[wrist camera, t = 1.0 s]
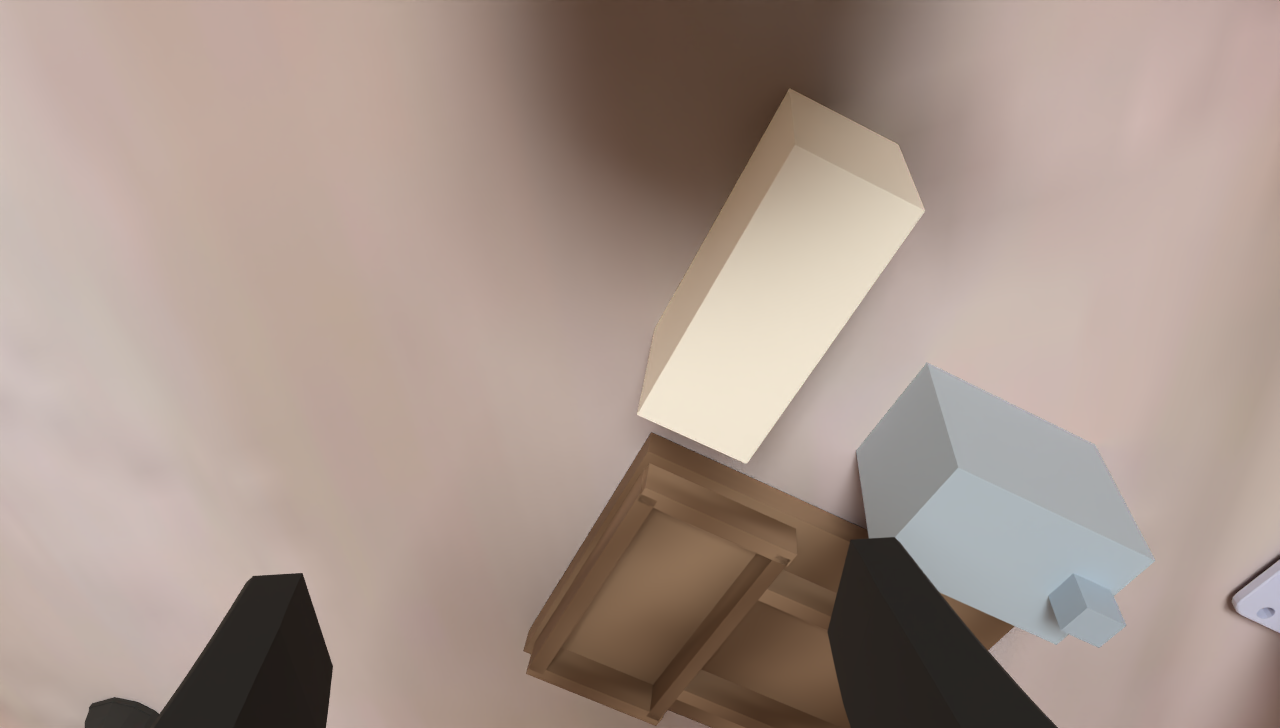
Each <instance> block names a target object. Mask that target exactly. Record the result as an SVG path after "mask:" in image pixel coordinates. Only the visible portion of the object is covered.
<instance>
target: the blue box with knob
mask: <svg viewBox="0 0 1280 728" xmlns="http://www.w3.org/2000/svg"><path fill="white" fill-rule="evenodd" d="M856 454H857V461H858V468H859V475H860V482H861V488H862V495H863V502H864V509H865V516H866V522H867V529H868V536H869V538H885V537H895V538H896V539H897V540H898V541H899V542H900V543H901V544H902V545H903V547H904V548H905V549H906V551H907V552H908V553H909V554H910V556H911V557H912V558H913V559H914V561H915V562H916V563H917V565H918V566H919V567H920V568H921V570H922V571H923V572H924V574H925V575H926V576H927V577H928V579H929V580H930V581H931V582H932V584H933V585H934V586H935V587H936V589H937V590H938V591H939V592H940V593H942V594H944V595H946V596H949V597H951V598H953V599H955V600H958V601H960V602H962V603H964V604H966V605H969V606H971V607H973V608H975V609H978V610H980V611H982V612H984V613H987V614H989V615H991V616H993V617H996V618H998V619H1000V620H1002V621H1004V622H1007V623H1009V624H1011V625H1013V626H1016V627H1018V628H1020V629H1022V630H1025V631H1027V632H1029V633H1031V634H1034V635H1036V636H1038V637H1040V638H1042V639H1045V640H1047V641H1049V642H1051V643H1054V644H1056V645H1057V644H1058V643H1059V642H1060V641H1062V640H1063V639H1064V638H1065V637H1066V636H1067V635H1072V636H1074V637H1076V638H1078V639H1080V640H1083V641H1085V642H1087V643H1089V644H1092V645H1094V646H1096V647H1098V648H1100V647H1101V646H1102V645H1103V644H1104V643H1106V642H1107V641H1108V640H1109V639H1111V638H1112V637H1113V636H1114V635H1115V634H1117V633H1118V632H1119V631H1120V630H1122V629H1123V628H1124V627H1125V626H1126V623H1125V621H1124V619H1123V617H1122V614H1121V612H1120V610H1119V608H1118V605H1117V603H1116V601H1115V599H1114V595H1116V594H1117V593H1118V592H1119V591H1120V590H1121V589H1123V588H1124V587H1125V586H1126V585H1127V584H1128V583H1130V582H1131V581H1132V580H1133V579H1134V578H1136V577H1137V576H1138V575H1139V574H1140V573H1141V572H1143V571H1144V570H1145V569H1146V568H1147V567H1148V566H1150V565H1151V564H1152V563H1153V562H1154V561H1155V559H1154V557H1153V555H1152V553H1151V551H1150V549H1149V547H1148V545H1147V544H1146V542H1145V540H1144V538H1143V536H1142V534H1141V532H1140V530H1139V528H1138V526H1137V524H1136V522H1135V521H1134V519H1133V517H1132V515H1131V513H1130V511H1129V509H1128V507H1127V505H1126V503H1125V501H1124V499H1123V497H1122V496H1121V494H1120V492H1119V490H1118V488H1117V486H1116V484H1115V482H1114V480H1113V478H1112V476H1111V474H1110V473H1109V471H1108V469H1107V467H1106V465H1105V463H1104V461H1103V459H1102V457H1101V455H1100V453H1099V451H1098V449H1097V448H1096V446H1095V444H1093V443H1091V442H1088V441H1086V440H1084V439H1082V438H1080V437H1078V436H1076V435H1074V434H1072V433H1070V432H1068V431H1066V430H1064V429H1062V428H1060V427H1058V426H1056V425H1054V424H1052V423H1050V422H1048V421H1046V420H1044V419H1042V418H1040V417H1037V416H1035V415H1033V414H1031V413H1029V412H1027V411H1025V410H1023V409H1021V408H1019V407H1017V406H1015V405H1013V404H1011V403H1009V402H1007V401H1005V400H1003V399H1001V398H999V397H997V396H995V395H993V394H991V393H989V392H986V391H984V390H982V389H980V388H978V387H976V386H974V385H972V384H970V383H968V382H966V381H964V380H962V379H960V378H958V377H956V376H954V375H952V374H950V373H948V372H946V371H944V370H942V369H940V368H937V367H935V366H933V365H931V364H929V363H926V364H925V366H924V367H923V368H922V369H921V371H920V372H919V373H918V374H917V376H916V377H915V378H914V379H913V381H912V382H911V383H910V384H909V386H908V387H907V388H906V389H905V391H904V392H903V393H902V394H901V396H900V397H899V398H898V399H897V400H896V402H895V403H894V404H893V405H892V407H891V408H890V409H889V410H888V412H887V413H886V414H885V415H884V417H883V418H882V419H881V420H880V422H879V423H878V424H877V425H876V427H875V428H874V429H873V430H872V432H871V433H870V434H869V435H868V437H867V438H866V439H865V440H864V442H863V443H862V444H861V445H860V447H859V448H858V449H857V450H856Z"/></svg>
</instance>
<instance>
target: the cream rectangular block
mask: <svg viewBox="0 0 1280 728" xmlns="http://www.w3.org/2000/svg"><path fill="white" fill-rule="evenodd" d="M924 212H925V209H924V207H923V204H922V202H921V199H920V197H919V194H918V192H917V189H916V187H915V184H914V182H913V179H912V177H911V175H910V172H909V170H908V167H907V165H906V162H905V160H904V157H903V155H902V152H901V150H900V147H899V145H898V144H897V143H895V142H893V141H891V140H889V139H887V138H885V137H883V136H881V135H879V134H877V133H875V132H873V131H871V130H870V129H868V128H866V127H864V126H862V125H860V124H858V123H856V122H854V121H852V120H850V119H848V118H846V117H844V116H842V115H841V114H839V113H837V112H835V111H833V110H831V109H829V108H827V107H825V106H823V105H821V104H819V103H817V102H815V101H814V100H812V99H810V98H808V97H806V96H804V95H802V94H800V93H798V92H796V91H794V90H792V89H790V88H789V90H788V92H787V93H786V95H785V97H784V99H783V101H782V102H781V104H780V106H779V108H778V109H777V111H776V113H775V115H774V117H773V118H772V120H771V122H770V124H769V126H768V127H767V129H766V131H765V133H764V134H763V136H762V138H761V140H760V142H759V143H758V145H757V147H756V149H755V151H754V152H753V154H752V156H751V158H750V159H749V161H748V163H747V165H746V167H745V168H744V170H743V172H742V174H741V175H740V177H739V179H738V181H737V183H736V184H735V186H734V188H733V190H732V192H731V193H730V195H729V197H728V199H727V200H726V202H725V204H724V206H723V208H722V209H721V211H720V213H719V215H718V217H717V218H716V220H715V222H714V224H713V225H712V227H711V229H710V231H709V233H708V234H707V236H706V238H705V240H704V242H703V243H702V245H701V247H700V249H699V250H698V252H697V254H696V256H695V258H694V259H693V261H692V263H691V265H690V267H689V268H688V270H687V272H686V274H685V275H684V277H683V279H682V281H681V283H680V284H679V286H678V288H677V290H676V292H675V293H674V295H673V297H672V299H671V300H670V302H669V304H668V306H667V308H666V309H665V311H664V313H663V315H662V317H661V318H660V320H659V322H658V324H657V325H656V327H655V329H654V334H653V339H652V344H651V349H650V354H649V358H648V363H647V368H646V373H645V378H644V383H643V388H642V393H641V397H640V402H639V407H638V412H637V415H639V416H641V417H643V418H645V419H647V420H650V421H652V422H654V423H656V424H659V425H661V426H663V427H665V428H667V429H670V430H672V431H674V432H676V433H679V434H681V435H683V436H685V437H688V438H690V439H692V440H694V441H696V442H699V443H701V444H703V445H705V446H708V447H710V448H712V449H714V450H716V451H719V452H721V453H723V454H725V455H728V456H730V457H732V458H734V459H736V460H739V461H741V462H743V463H745V464H747V463H748V461H749V460H750V459H751V457H752V456H753V454H754V453H755V451H756V450H757V449H758V447H759V446H760V444H761V443H762V441H763V440H764V439H765V437H766V436H767V434H768V433H769V432H770V430H771V429H772V427H773V426H774V424H775V423H776V422H777V420H778V419H779V417H780V416H781V415H782V413H783V412H784V410H785V409H786V407H787V406H788V405H789V403H790V402H791V400H792V399H793V398H794V396H795V395H796V393H797V392H798V390H799V389H800V388H801V386H802V385H803V383H804V382H805V381H806V379H807V378H808V376H809V375H810V373H811V372H812V371H813V369H814V368H815V366H816V365H817V363H818V362H819V361H820V359H821V358H822V356H823V355H824V354H825V352H826V351H827V349H828V348H829V346H830V345H831V344H832V342H833V341H834V339H835V338H836V337H837V335H838V334H839V332H840V331H841V329H842V328H843V327H844V325H845V324H846V322H847V321H848V320H849V318H850V317H851V315H852V314H853V312H854V311H855V310H856V308H857V307H858V305H859V304H860V302H861V301H862V300H863V298H864V297H865V295H866V294H867V293H868V291H869V290H870V288H871V287H872V285H873V284H874V283H875V281H876V280H877V278H878V277H879V276H880V274H881V273H882V271H883V270H884V268H885V267H886V266H887V264H888V263H889V261H890V260H891V259H892V257H893V256H894V254H895V253H896V251H897V250H898V249H899V247H900V246H901V244H902V243H903V241H904V240H905V239H906V237H907V236H908V234H909V233H910V232H911V230H912V229H913V227H914V226H915V224H916V223H917V222H918V220H919V219H920V217H921V216H922V215H923V213H924Z"/></svg>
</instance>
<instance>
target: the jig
mask: <svg viewBox="0 0 1280 728" xmlns="http://www.w3.org/2000/svg"><path fill="white" fill-rule="evenodd" d="M853 539H869V536H868V530H866V529H863V528H861V527H859V526H857V525H855V524H852V523H850V522H848V521H846V520H844V519H841V518H839V517H837V516H835V515H833V514H830V513H828V512H826V511H824V510H822V509H819V508H817V507H815V506H813V505H811V504H808V503H806V502H804V501H802V500H799V499H797V498H795V497H793V496H791V495H788V494H786V493H784V492H782V491H780V490H777V489H775V488H773V487H771V486H769V485H766V484H764V483H762V482H760V481H758V480H755V479H753V478H751V477H749V476H747V475H744V474H742V473H740V472H738V471H736V470H733V469H731V468H729V467H727V466H725V465H722V464H720V463H718V462H716V461H713V460H711V459H709V458H707V457H705V456H702V455H700V454H698V453H696V452H694V451H691V450H689V449H687V448H685V447H683V446H680V445H678V444H676V443H674V442H672V441H669V440H667V439H665V438H663V437H661V436H658V435H656V434H654V433H652V432H651V434H650V435H649V437H648V438H647V440H646V442H645V443H644V445H643V447H642V448H641V450H640V451H639V453H638V455H637V456H636V458H635V460H634V461H633V463H632V464H631V466H630V468H629V469H628V471H627V473H626V474H625V476H624V477H623V479H622V481H621V482H620V484H619V485H618V487H617V489H616V490H615V492H614V494H613V495H612V497H611V498H610V500H609V502H608V503H607V505H606V507H605V508H604V510H603V511H602V513H601V515H600V516H599V518H598V520H597V521H596V523H595V524H594V526H593V528H592V529H591V531H590V532H589V534H588V536H587V537H586V539H585V541H584V542H583V544H582V545H581V547H580V549H579V550H578V552H577V554H576V555H575V557H574V558H573V560H572V562H571V563H570V565H569V567H568V568H567V570H566V571H565V573H564V575H563V576H562V578H561V580H560V581H559V583H558V584H557V586H556V588H555V589H554V591H553V592H552V594H551V596H550V597H549V599H548V601H547V602H546V604H545V605H544V607H543V609H542V610H541V612H540V614H539V615H538V617H537V618H536V620H535V622H534V623H533V625H532V627H531V628H530V630H529V633H528V636H527V640H526V643H525V647H524V650H523V651H525V652H527V653H530V654H531V657H530V661H529V665H528V668H527V672H526V674H528V675H531V676H533V677H536V678H538V679H541V680H543V681H546V682H548V683H551V684H553V685H556V686H558V687H561V688H563V689H566V690H568V691H571V692H573V693H575V694H578V695H580V696H583V697H585V698H588V699H590V700H593V701H595V702H598V703H600V704H603V705H605V706H608V707H610V708H613V709H615V710H618V711H620V712H623V713H625V714H628V715H630V716H633V717H635V718H638V719H640V720H643V721H645V722H648V723H650V724H653V725H655V726H656V725H657V724H658V723H659V722H660V720H661V719H662V718H663V715H664V714H665V712H666V711H667V710H670V711H672V712H675V713H677V714H680V715H682V716H685V717H687V718H690V719H692V720H695V721H697V722H699V723H702V724H704V725H707V726H709V727H712V728H851V727H850V724H849V721H848V717H847V714H846V711H845V708H844V705H843V701H842V697H841V692H840V688H839V684H838V679H837V675H836V671H835V666H834V661H833V656H832V652H831V647H830V642H829V637H828V632H827V631H828V627H829V623H830V619H831V615H832V611H833V607H834V603H835V599H836V595H837V591H838V587H839V583H840V579H841V575H842V571H843V567H844V563H845V560H846V556H847V552H848V548H849V544H850V540H853ZM940 594H941V595H942V596H943V597H944V599H945V600H946V601H947V602H948V604H949V605H950V606H951V607H952V608H953V610H954V611H955V612H956V613H957V615H958V616H959V617H960V618H961V619H962V621H963V622H964V623H965V624H966V626H967V627H968V628H969V629H970V630H971V631H972V633H973V634H974V635H975V636H976V637H977V639H978V640H979V641H980V642H981V643H982V645H983V646H984V647H985V648H986V649H987V650H989V649H990V648H991V647H992V646H993V645H994V644H996V643H997V642H998V641H999V640H1000V639H1001V638H1002V637H1003V636H1004V635H1005V634H1007V633H1008V632H1009V631H1010V630H1011V629H1012V628H1013V627H1014V626H1013V625H1011V624H1009V623H1007V622H1004V621H1002V620H1000V619H998V618H996V617H993V616H991V615H989V614H987V613H984V612H982V611H980V610H978V609H975V608H973V607H971V606H969V605H966V604H964V603H962V602H960V601H958V600H955V599H953V598H951V597H949V596H946V595H944V594H942V593H940Z"/></svg>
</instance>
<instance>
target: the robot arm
mask: <svg viewBox="0 0 1280 728" xmlns="http://www.w3.org/2000/svg"><path fill="white" fill-rule="evenodd" d="M1232 604H1233V606H1234V608H1235V610H1236V611H1237V613H1239V614H1240V615H1242V616H1244V617H1246V618H1248V619H1250V620H1252V621H1254V622H1257V623H1259V624H1261V625H1263V626H1265V627H1267V628H1269V629H1271V630H1274V631H1276V632H1278V633H1280V560H1278V561H1277V562H1276V563H1275V564H1273V565H1272V566H1271V567H1269V568H1268V569H1267V570H1266V571H1264V572H1263V573H1262V574H1260V575H1259V576H1258V577H1257V578H1255V579H1254V580H1253V581H1251V582H1250V583H1249V584H1248V585H1246V586H1245V587H1244V588H1242V589H1241V590H1240V591H1239V592H1237V593H1236V594H1235V595H1234V596H1233V598H1232ZM1262 608H1263V609H1262ZM827 632H828V637H829V642H830V647H831V652H832V656H833V661H834V666H835V671H836V675H837V679H838V684H839V688H840V692H841V697H842V701H843V705H844V708H845V711H846V714H847V717H848V721H849V724H850V727H851V728H1058V727H1057V726H1056V725H1055V724H1054V723H1053V722H1052V721H1051V720H1050V719H1049V718H1048V717H1047V716H1046V715H1045V714H1044V713H1043V712H1042V711H1041V710H1040V709H1039V707H1038V706H1037V705H1036V704H1035V703H1034V702H1033V701H1032V700H1031V699H1030V698H1029V697H1028V695H1027V694H1026V693H1025V692H1024V691H1023V690H1022V689H1021V688H1020V687H1019V686H1018V684H1017V683H1016V682H1015V681H1014V680H1013V679H1012V678H1011V676H1010V675H1009V674H1008V673H1007V672H1006V671H1005V670H1004V668H1003V667H1002V666H1001V665H1000V664H999V663H998V662H997V661H996V659H995V658H994V657H993V656H992V655H991V654H990V653H989V651H988V650H987V649H986V648H985V647H984V646H983V645H982V643H981V642H980V641H979V640H978V639H977V637H976V636H975V635H974V634H973V633H972V631H971V630H970V629H969V628H968V627H967V626H966V624H965V623H964V622H963V621H962V619H961V618H960V617H959V616H958V615H957V613H956V612H955V611H954V610H953V608H952V607H951V606H950V605H949V604H948V602H947V601H946V600H945V599H944V597H943V596H942V595H941V594H940V592H939V591H938V590H937V589H936V587H935V586H934V585H933V584H932V582H931V581H930V580H929V579H928V577H927V576H926V575H925V574H924V572H923V571H922V570H921V568H920V567H919V566H918V565H917V563H916V562H915V561H914V559H913V558H912V557H911V556H910V554H909V553H908V552H907V551H906V549H905V548H904V547H903V545H902V544H901V543H900V542H899V541H898V540H897V539H896V538H895V537H885V538H869V539H853V540H850V544H849V548H848V552H847V556H846V560H845V563H844V567H843V571H842V575H841V579H840V583H839V587H838V591H837V595H836V599H835V603H834V607H833V611H832V615H831V619H830V623H829V627H828V631H827ZM332 670H333V666H332V662H331V659H330V656H329V653H328V650H327V647H326V644H325V641H324V638H323V635H322V632H321V629H320V626H319V623H318V620H317V616H316V613H315V610H314V607H313V604H312V601H311V598H310V595H309V592H308V589H307V586H306V583H305V580H304V577H303V574H302V573H296V574H280V575H263V576H253V577H252V578H251V579H250V580H249V581H247V582H246V584H245V585H244V587H243V589H242V590H241V592H240V594H239V595H238V597H237V598H236V600H235V602H234V603H233V605H232V606H231V608H230V610H229V611H228V613H227V614H226V616H225V617H224V619H223V621H222V622H221V624H220V625H219V627H218V629H217V630H216V632H215V633H214V635H213V636H212V638H211V639H210V641H209V642H208V644H207V646H206V647H205V649H204V650H203V652H202V653H201V655H200V656H199V658H198V659H197V661H196V662H195V664H194V665H193V667H192V668H191V670H190V671H189V673H188V674H187V676H186V677H185V679H184V680H183V682H182V683H181V684H180V686H179V687H178V689H177V690H176V692H175V693H174V694H173V696H172V697H171V699H170V700H169V702H168V703H167V704H166V706H165V707H164V709H163V710H162V711H161V713H160V714H159V716H158V717H157V719H156V720H155V721H154V723H153V724H152V726H151V727H150V728H326V722H327V714H328V706H329V697H330V688H331V679H332Z"/></svg>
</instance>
